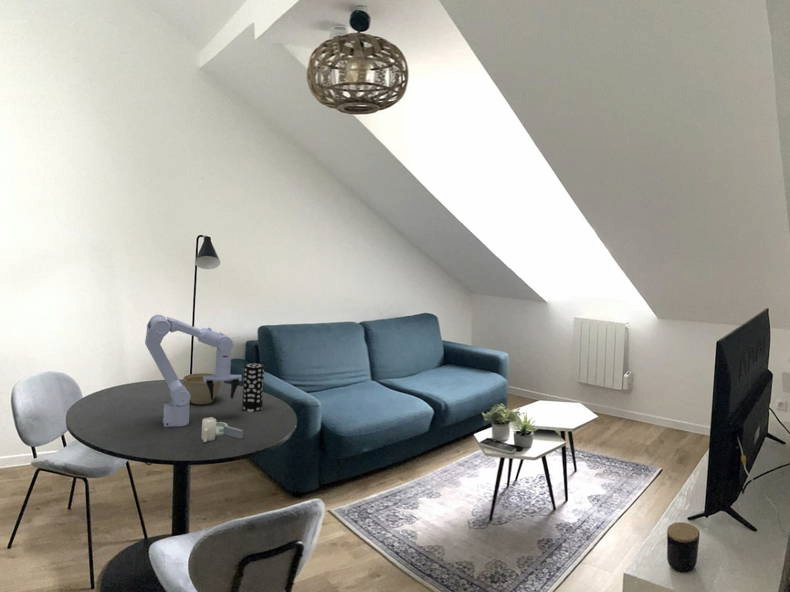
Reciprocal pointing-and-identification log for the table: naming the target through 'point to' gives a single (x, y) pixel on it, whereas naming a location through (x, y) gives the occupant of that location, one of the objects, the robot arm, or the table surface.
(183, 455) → the table surface
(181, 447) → the table surface
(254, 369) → the spotted tube
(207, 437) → the cream round-ended cylinder
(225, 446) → the table surface
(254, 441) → the table surface
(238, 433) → the turntable
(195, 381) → the planter bowl
